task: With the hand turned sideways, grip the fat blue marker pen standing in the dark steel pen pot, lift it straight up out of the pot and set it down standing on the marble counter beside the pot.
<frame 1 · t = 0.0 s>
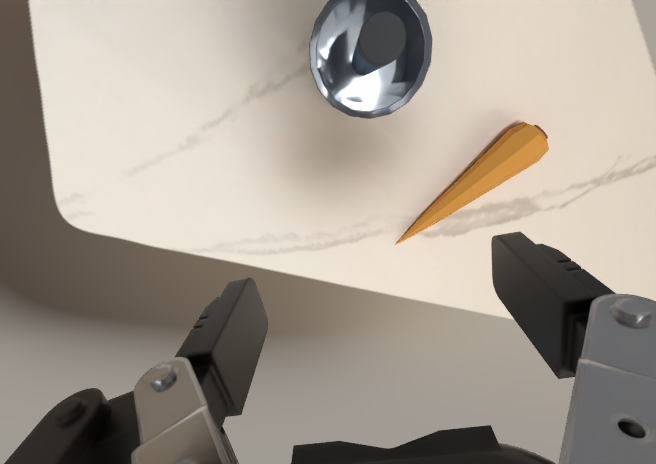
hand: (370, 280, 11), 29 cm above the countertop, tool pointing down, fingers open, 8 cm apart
carrot: (454, 188, 40), on the countertop
marker: (364, 61, 34), resting on pen pot
pen pot: (364, 61, 35), on the countertop
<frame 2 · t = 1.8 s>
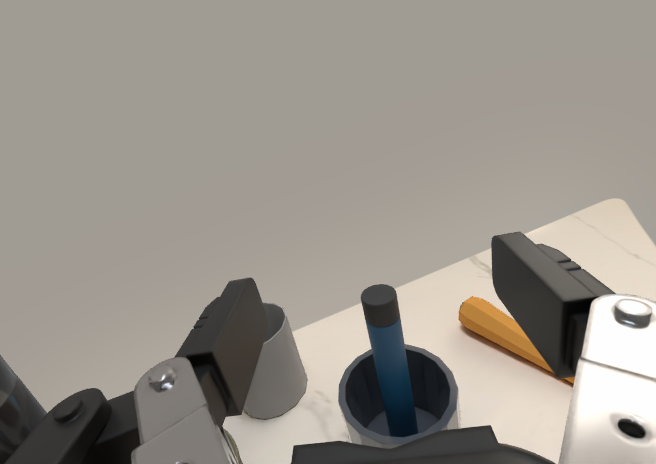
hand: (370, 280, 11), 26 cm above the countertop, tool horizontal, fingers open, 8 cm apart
carrot: (538, 364, 37), on the countertop
marker: (406, 447, 31), resting on pen pot
cup: (275, 389, 42), on the countertop
pen pot: (407, 450, 31), on the countertop
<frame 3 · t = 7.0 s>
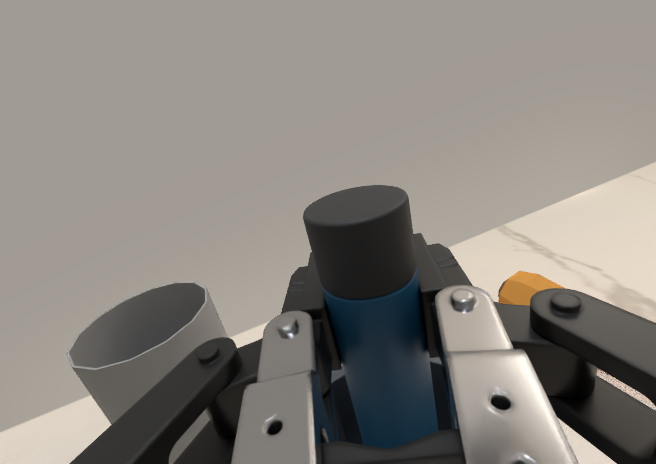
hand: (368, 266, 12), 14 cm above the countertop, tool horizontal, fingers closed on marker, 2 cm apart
carrot: (653, 383, 21), on the countertop
cup: (200, 424, 25), on the countertop
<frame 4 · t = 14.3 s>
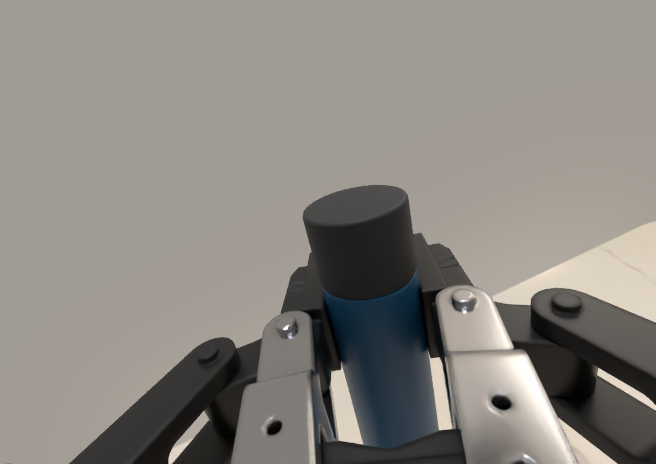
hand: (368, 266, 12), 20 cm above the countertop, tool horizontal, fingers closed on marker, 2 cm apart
when the fingers open (14 cm above the countertop, at t = 16.3 s): marker stays where it is, on the countertop.
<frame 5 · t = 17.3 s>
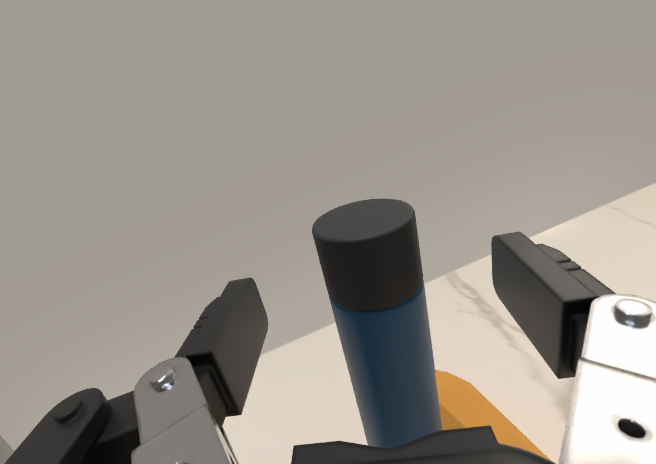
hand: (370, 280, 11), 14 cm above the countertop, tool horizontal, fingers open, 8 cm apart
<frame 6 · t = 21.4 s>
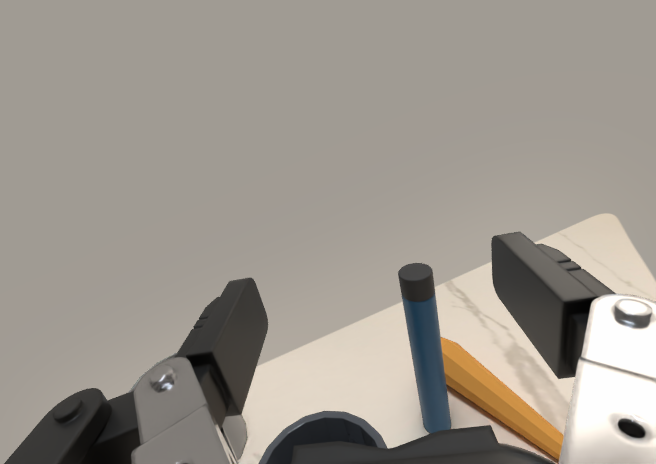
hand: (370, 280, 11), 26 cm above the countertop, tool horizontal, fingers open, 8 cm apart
carrot: (511, 424, 31), on the countertop
marker: (437, 423, 32), on the countertop
cup: (209, 449, 36), on the countertop
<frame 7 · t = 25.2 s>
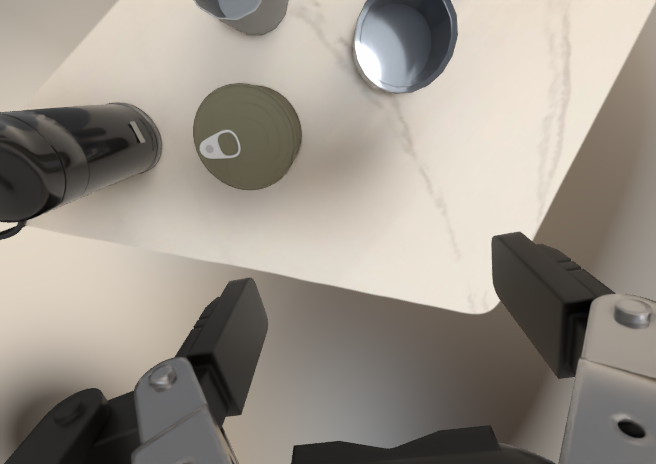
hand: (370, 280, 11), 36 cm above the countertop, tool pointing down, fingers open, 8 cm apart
pen pot: (393, 47, 40), on the countertop
can: (258, 132, 45), on the countertop
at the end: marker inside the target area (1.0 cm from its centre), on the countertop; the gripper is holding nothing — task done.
